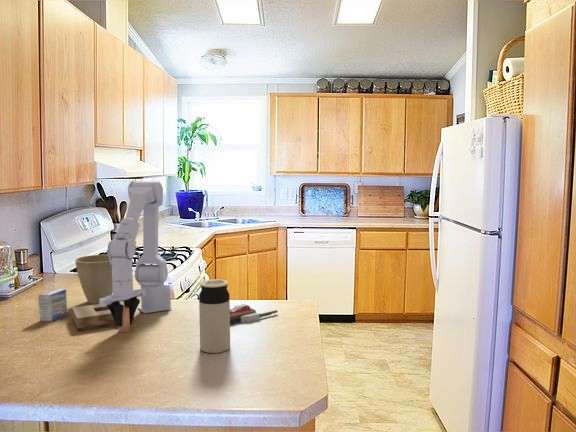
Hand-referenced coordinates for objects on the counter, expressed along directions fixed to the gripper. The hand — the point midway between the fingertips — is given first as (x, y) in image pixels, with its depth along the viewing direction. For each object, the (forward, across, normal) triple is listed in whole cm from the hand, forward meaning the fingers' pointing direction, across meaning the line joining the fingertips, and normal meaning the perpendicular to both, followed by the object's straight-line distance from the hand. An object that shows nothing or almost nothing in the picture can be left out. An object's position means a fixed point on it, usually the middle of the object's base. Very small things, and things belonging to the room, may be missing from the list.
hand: (124, 324), depth 145 cm
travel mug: (+2, -5, +32) cm, 33 cm away
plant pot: (+2, -15, -35) cm, 38 cm away
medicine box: (+2, +5, -30) cm, 30 cm away
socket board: (+2, -2, -14) cm, 14 cm away
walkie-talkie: (+2, -31, +21) cm, 37 cm away
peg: (+2, 0, 0) cm, 2 cm away
